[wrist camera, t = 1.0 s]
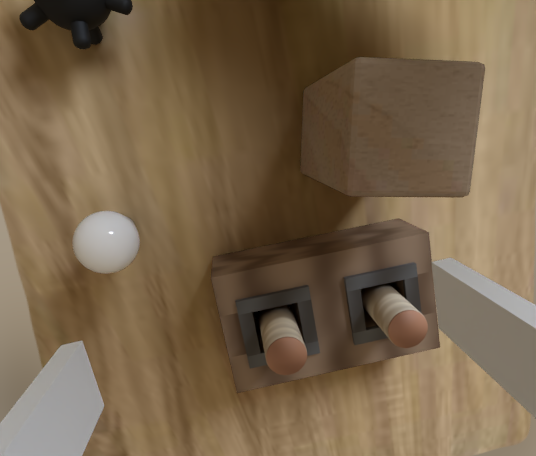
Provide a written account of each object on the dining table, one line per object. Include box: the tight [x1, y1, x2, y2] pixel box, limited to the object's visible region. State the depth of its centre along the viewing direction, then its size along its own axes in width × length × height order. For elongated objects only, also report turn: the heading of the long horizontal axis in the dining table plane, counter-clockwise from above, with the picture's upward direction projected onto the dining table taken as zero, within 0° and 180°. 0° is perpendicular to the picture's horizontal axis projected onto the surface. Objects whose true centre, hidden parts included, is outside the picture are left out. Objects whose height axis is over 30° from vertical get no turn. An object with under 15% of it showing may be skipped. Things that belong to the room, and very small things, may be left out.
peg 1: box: [259, 305, 307, 375], centre depth 44 cm, size 4×4×8 cm
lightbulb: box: [72, 211, 140, 274], centre depth 45 cm, size 6×6×11 cm
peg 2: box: [361, 283, 428, 348], centre depth 45 cm, size 4×4×8 cm
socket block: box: [211, 219, 440, 393], centre depth 50 cm, size 24×14×9 cm, turn 101°
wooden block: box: [300, 57, 485, 197], centre depth 41 cm, size 10×10×20 cm
